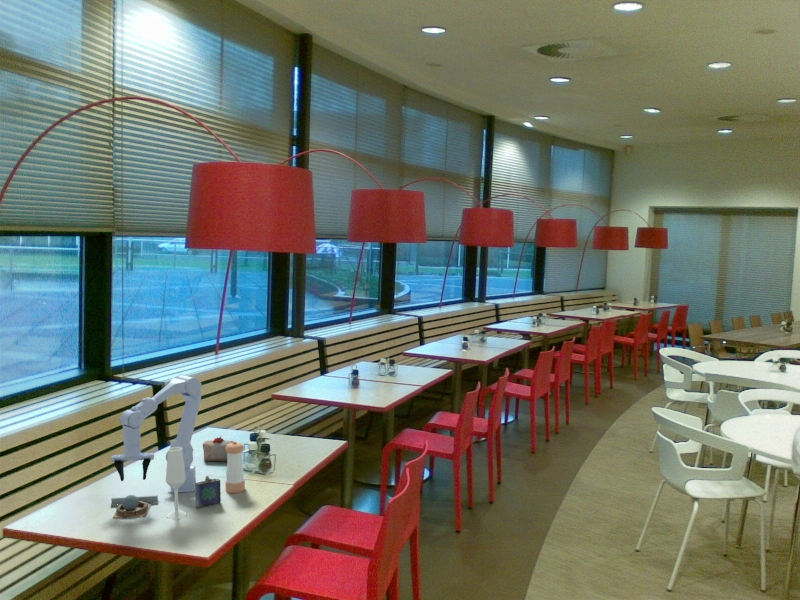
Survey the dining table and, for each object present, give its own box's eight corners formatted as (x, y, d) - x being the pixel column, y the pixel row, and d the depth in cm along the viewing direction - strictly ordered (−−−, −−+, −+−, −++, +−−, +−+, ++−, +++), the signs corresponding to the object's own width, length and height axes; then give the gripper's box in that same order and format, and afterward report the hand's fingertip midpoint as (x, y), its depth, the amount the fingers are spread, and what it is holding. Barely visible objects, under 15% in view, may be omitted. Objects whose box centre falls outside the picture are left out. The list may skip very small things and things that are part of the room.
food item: (200, 462, 307) (200, 440, 306) (207, 456, 315) (206, 434, 314) (231, 463, 306) (231, 440, 305) (237, 457, 314) (236, 435, 313)
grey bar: (158, 500, 263) (158, 494, 263) (157, 503, 260) (156, 497, 260) (112, 503, 261) (112, 496, 260) (110, 506, 258) (110, 499, 257)
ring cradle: (151, 504, 260) (150, 499, 259) (145, 516, 249) (145, 511, 249) (119, 506, 258) (119, 501, 257) (112, 518, 247) (112, 513, 247)
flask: (196, 508, 256) (195, 479, 255) (194, 506, 259) (193, 477, 258) (221, 503, 261) (221, 475, 260) (219, 501, 263) (218, 473, 262)
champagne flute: (163, 514, 251) (162, 448, 248) (182, 510, 255) (181, 444, 252) (170, 520, 245) (168, 453, 243) (189, 516, 250) (188, 449, 247)
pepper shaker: (248, 489, 275) (247, 441, 273) (232, 494, 270) (231, 445, 268) (237, 484, 280) (237, 437, 278) (221, 489, 275) (220, 441, 273)
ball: (141, 505, 256) (137, 491, 256) (138, 511, 251) (135, 496, 250) (126, 509, 255) (122, 495, 255) (122, 515, 250) (119, 500, 249)
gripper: (108, 447, 252) (110, 484, 254) (151, 445, 255) (152, 482, 256) (112, 441, 259) (114, 477, 261) (154, 439, 262) (155, 475, 263)
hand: (133, 479), depth 259 cm, fingers open, 7 cm apart
